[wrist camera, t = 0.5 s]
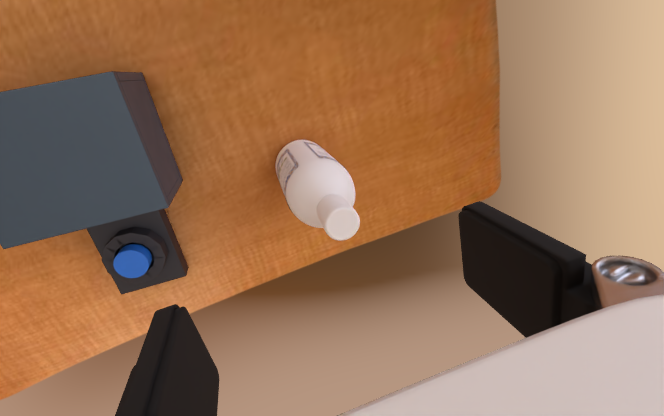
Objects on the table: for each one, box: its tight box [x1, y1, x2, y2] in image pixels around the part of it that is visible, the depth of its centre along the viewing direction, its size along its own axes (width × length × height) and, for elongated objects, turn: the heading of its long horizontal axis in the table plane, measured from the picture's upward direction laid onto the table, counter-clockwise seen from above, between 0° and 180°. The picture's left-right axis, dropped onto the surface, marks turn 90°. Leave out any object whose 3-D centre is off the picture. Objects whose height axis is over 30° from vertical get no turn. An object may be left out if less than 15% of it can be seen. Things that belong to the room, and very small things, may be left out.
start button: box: [113, 244, 152, 278], centre depth 39 cm, size 4×4×2 cm
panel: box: [87, 209, 188, 294], centre depth 42 cm, size 10×8×4 cm
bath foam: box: [275, 140, 360, 240], centre depth 36 cm, size 7×7×20 cm
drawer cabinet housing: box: [0, 71, 183, 249], centre depth 34 cm, size 15×13×10 cm
